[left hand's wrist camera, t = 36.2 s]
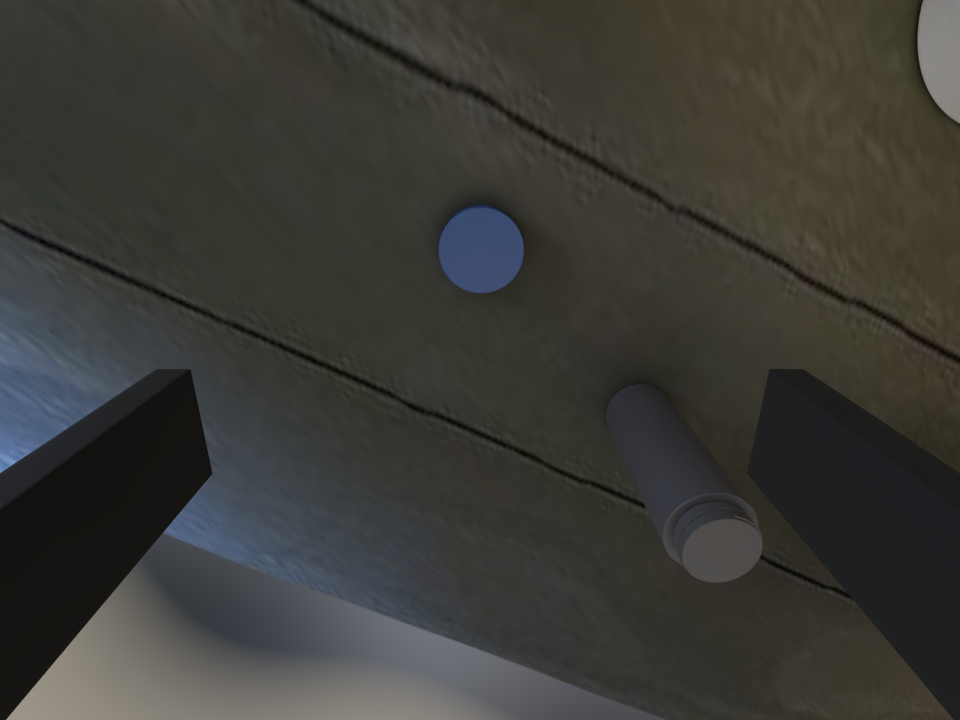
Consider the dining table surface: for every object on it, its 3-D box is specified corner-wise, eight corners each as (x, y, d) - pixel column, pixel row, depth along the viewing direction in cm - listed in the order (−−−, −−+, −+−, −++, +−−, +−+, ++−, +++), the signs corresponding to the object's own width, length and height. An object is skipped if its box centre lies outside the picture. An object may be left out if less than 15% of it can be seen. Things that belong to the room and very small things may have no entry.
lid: (507, 192, 36) (508, 194, 35) (532, 272, 38) (535, 277, 36) (428, 221, 37) (425, 224, 35) (457, 298, 39) (456, 304, 37)
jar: (653, 448, 43) (742, 600, 29) (595, 431, 43) (655, 576, 28) (681, 394, 42) (791, 526, 27) (621, 375, 41) (700, 499, 26)
